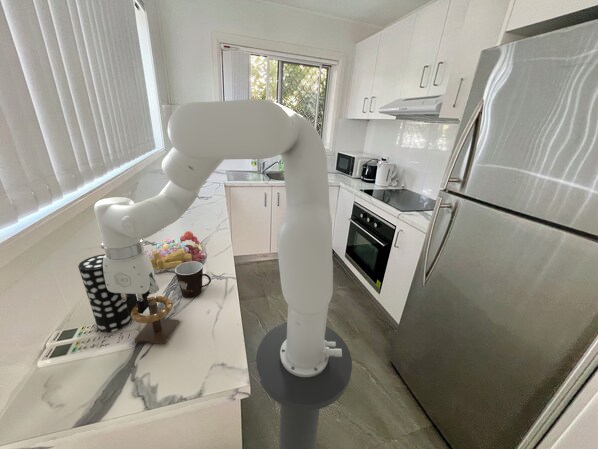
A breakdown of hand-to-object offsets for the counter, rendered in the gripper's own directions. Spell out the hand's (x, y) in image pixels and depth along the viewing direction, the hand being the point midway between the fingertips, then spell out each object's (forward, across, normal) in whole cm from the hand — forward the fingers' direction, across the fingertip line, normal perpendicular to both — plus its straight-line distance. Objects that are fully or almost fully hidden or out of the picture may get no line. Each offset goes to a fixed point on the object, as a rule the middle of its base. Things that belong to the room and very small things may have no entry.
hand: (138, 309), depth 65 cm
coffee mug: (+8, +7, +17) cm, 20 cm away
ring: (-1, +4, 0) cm, 4 cm away
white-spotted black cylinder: (+8, -10, +3) cm, 13 cm away
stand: (+8, +4, 0) cm, 9 cm away
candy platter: (+8, -11, +40) cm, 42 cm away
